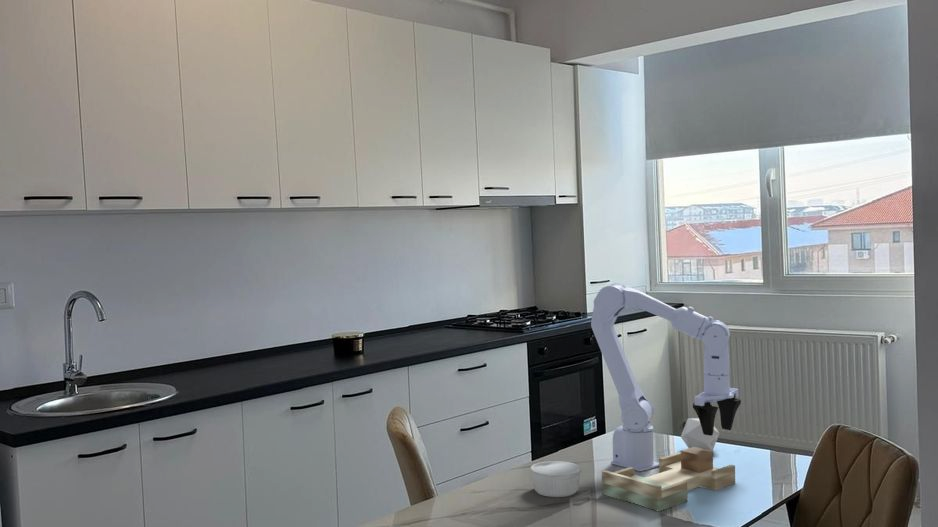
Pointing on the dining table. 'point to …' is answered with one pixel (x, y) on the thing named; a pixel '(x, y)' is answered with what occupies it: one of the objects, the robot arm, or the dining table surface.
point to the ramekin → (555, 478)
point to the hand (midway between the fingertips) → (717, 432)
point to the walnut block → (697, 459)
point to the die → (698, 435)
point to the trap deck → (664, 483)
